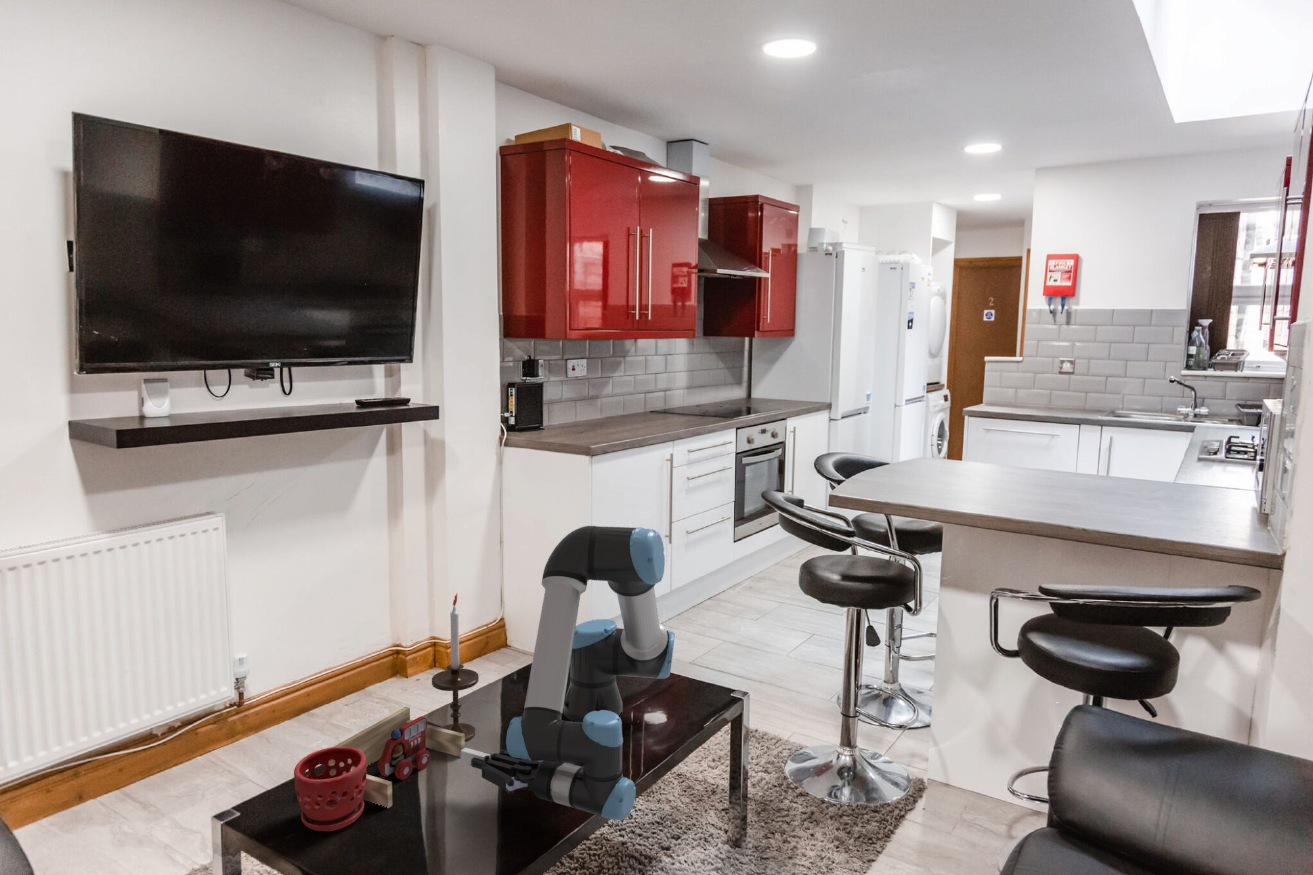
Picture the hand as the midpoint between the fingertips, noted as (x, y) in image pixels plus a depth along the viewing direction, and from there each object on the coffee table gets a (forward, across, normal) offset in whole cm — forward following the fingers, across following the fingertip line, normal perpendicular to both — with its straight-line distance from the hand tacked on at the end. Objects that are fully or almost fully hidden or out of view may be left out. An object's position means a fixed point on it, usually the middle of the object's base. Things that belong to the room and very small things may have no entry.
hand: (463, 755), depth 171 cm
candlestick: (+17, +19, -8) cm, 27 cm away
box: (+18, 0, -8) cm, 20 cm away
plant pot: (+16, -20, -8) cm, 27 cm away
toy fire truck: (+17, +1, -8) cm, 19 cm away
